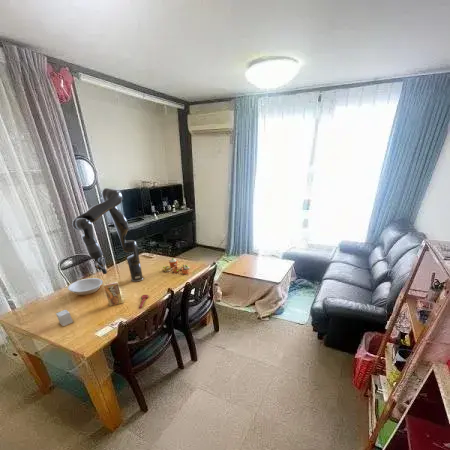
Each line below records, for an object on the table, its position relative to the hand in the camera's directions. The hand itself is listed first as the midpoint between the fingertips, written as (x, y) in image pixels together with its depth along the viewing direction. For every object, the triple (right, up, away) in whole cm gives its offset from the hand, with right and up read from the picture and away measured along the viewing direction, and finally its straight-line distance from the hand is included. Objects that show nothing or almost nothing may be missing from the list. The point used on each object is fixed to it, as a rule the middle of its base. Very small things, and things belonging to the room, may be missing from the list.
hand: (105, 273), depth 170 cm
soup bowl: (-26, -12, +26) cm, 38 cm away
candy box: (+3, -20, +10) cm, 23 cm away
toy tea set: (+38, +9, +61) cm, 72 cm away
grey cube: (-20, -32, -10) cm, 39 cm away
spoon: (+22, -19, +12) cm, 31 cm away
